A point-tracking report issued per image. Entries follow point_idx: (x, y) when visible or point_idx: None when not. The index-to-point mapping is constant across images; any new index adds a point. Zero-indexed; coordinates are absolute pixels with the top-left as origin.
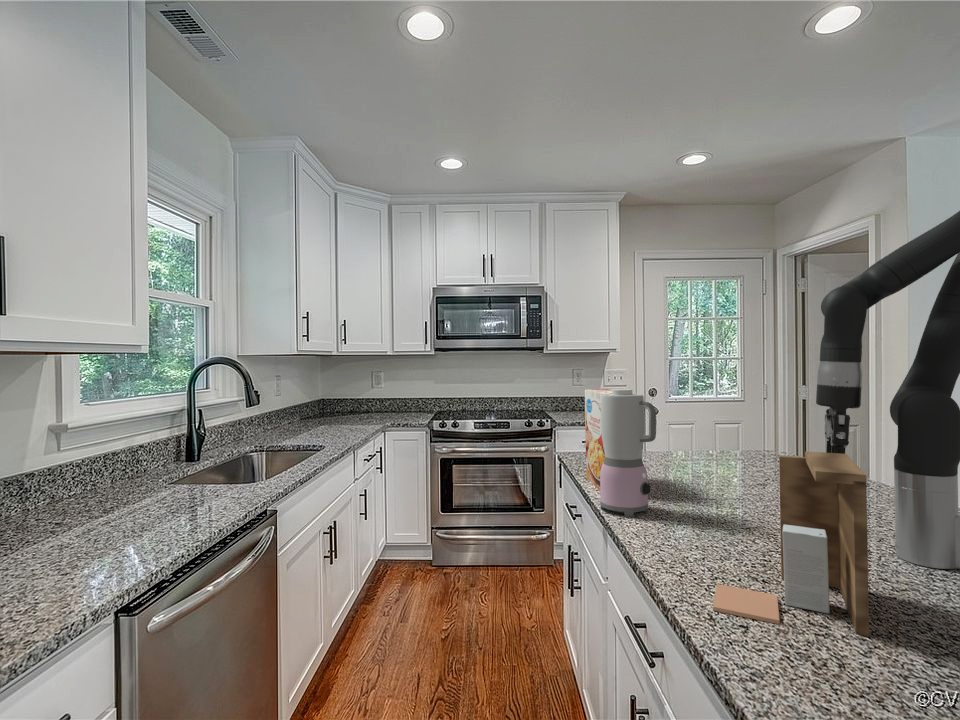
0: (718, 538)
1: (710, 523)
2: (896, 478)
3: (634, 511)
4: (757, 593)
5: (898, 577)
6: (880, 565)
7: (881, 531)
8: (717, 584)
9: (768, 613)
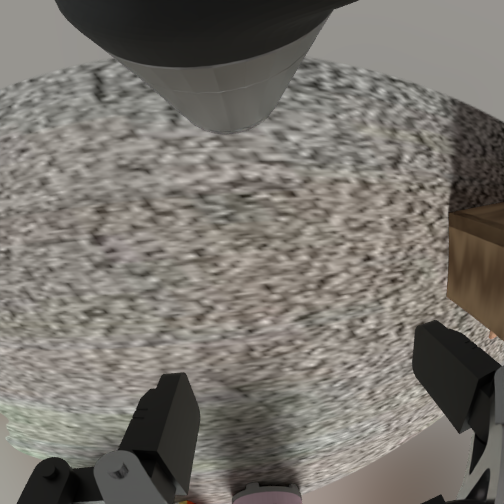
0: (330, 403)
1: (253, 430)
2: (253, 74)
3: (291, 488)
4: None
5: (371, 137)
6: (324, 161)
7: (73, 174)
8: (492, 338)
9: None
